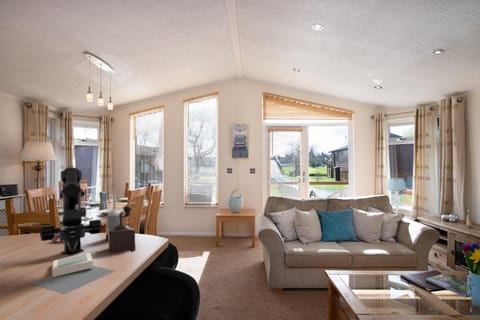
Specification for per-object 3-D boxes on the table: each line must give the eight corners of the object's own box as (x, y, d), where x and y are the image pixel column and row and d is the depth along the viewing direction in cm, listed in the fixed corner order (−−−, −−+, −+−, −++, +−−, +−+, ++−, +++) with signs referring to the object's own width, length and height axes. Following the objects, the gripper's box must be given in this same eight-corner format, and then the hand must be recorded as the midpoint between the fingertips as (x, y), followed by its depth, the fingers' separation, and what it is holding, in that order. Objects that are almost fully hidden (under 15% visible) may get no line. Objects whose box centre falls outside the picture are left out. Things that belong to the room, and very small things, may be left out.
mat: (31, 285, 88) (31, 283, 88) (84, 265, 104) (84, 263, 104) (64, 296, 81) (64, 293, 81) (115, 273, 97) (115, 270, 97)
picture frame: (52, 277, 92) (54, 267, 103) (93, 267, 98) (90, 259, 109) (52, 269, 92) (53, 260, 103) (92, 259, 98) (90, 252, 109)
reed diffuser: (125, 236, 144) (124, 188, 144) (121, 240, 136) (120, 190, 136) (109, 236, 143) (108, 188, 143) (103, 241, 135) (102, 190, 135)
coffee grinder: (137, 250, 121) (136, 209, 121) (109, 255, 115) (109, 212, 115) (132, 241, 134) (131, 204, 134) (107, 245, 129) (106, 207, 129)
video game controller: (74, 244, 136) (78, 230, 139) (68, 242, 132) (73, 228, 135) (56, 244, 137) (60, 229, 140) (49, 242, 133) (54, 227, 136)
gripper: (40, 202, 94) (37, 242, 85) (100, 198, 104) (104, 233, 95) (42, 221, 101) (39, 260, 92) (99, 215, 111) (102, 250, 101)
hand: (72, 250), depth 95 cm, fingers closed
